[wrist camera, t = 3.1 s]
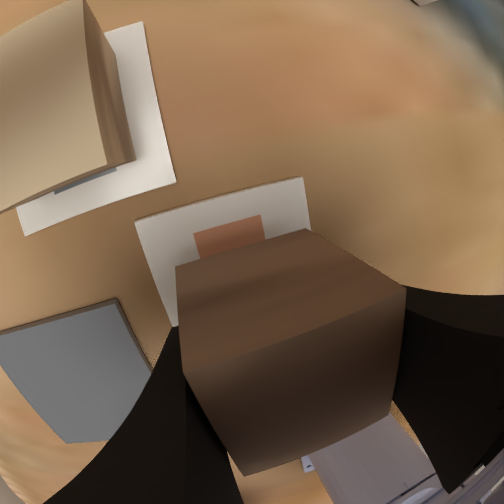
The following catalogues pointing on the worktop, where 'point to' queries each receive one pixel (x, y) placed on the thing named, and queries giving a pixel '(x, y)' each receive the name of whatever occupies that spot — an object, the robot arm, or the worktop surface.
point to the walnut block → (288, 345)
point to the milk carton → (423, 2)
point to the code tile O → (142, 134)
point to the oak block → (58, 105)
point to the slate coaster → (78, 370)
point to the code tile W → (218, 229)
